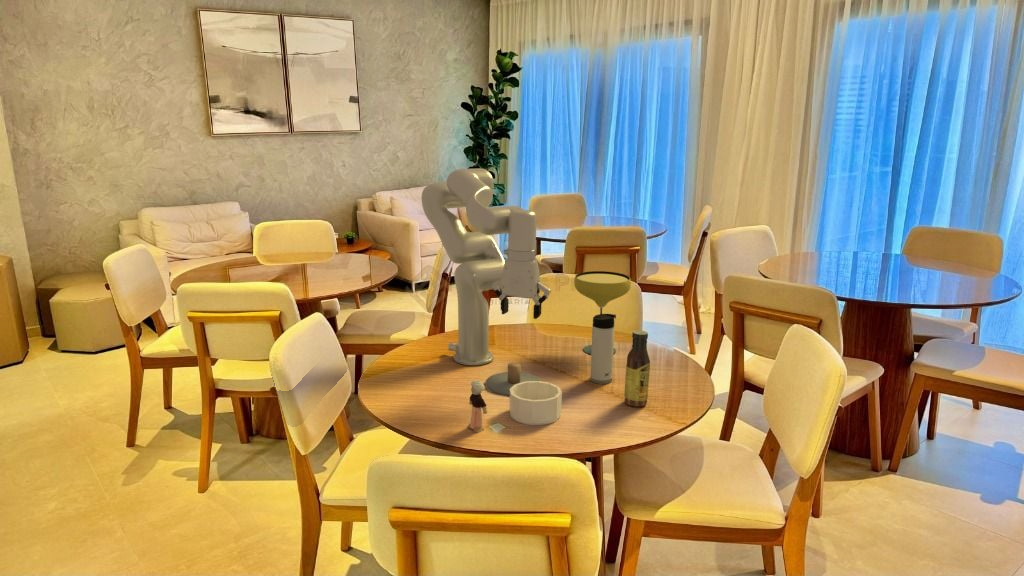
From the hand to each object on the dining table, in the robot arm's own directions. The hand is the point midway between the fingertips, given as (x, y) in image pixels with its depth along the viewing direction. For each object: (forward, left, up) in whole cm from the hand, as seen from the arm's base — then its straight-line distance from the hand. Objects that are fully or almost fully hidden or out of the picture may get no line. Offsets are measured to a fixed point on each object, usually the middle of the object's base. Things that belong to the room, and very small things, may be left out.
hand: (520, 315), depth 186 cm
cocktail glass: (+13, +38, -21) cm, 45 cm away
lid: (-1, -1, -21) cm, 21 cm away
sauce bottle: (+34, +1, -21) cm, 39 cm away
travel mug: (+21, +13, -21) cm, 32 cm away
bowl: (+12, -17, -21) cm, 29 cm away
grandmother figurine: (+2, -31, -21) cm, 37 cm away
